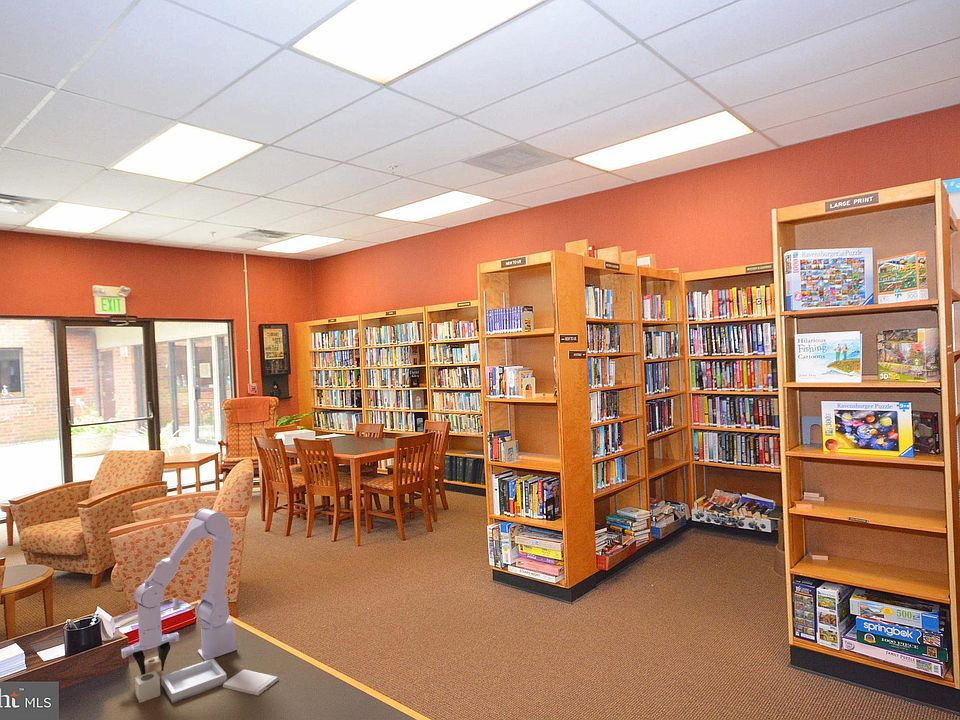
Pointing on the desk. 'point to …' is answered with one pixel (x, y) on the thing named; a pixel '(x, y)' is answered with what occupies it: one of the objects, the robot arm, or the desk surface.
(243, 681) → the white flat slab
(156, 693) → the oversize block
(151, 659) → the block
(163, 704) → the desk surface
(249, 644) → the desk surface
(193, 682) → the tray
